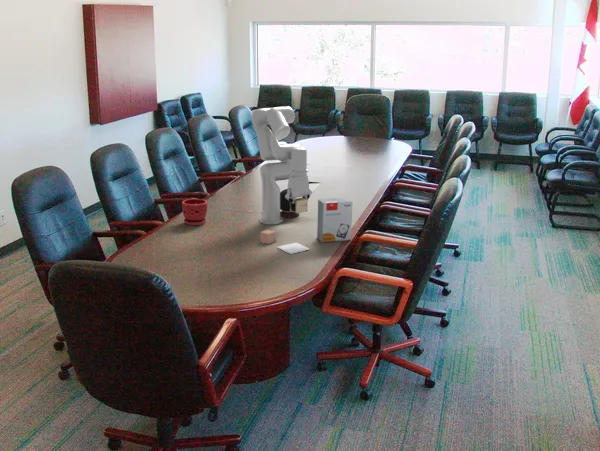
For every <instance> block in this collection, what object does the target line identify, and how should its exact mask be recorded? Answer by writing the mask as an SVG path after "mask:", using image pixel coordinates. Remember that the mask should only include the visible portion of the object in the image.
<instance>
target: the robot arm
mask: <svg viewBox="0 0 600 451" xmlns="http://www.w3.org/2000/svg"><path fill="white" fill-rule="evenodd" d="M295 118H296V114H295V112H294V109H293V108H292V107H291V106H276V107H275V106H274V107H262V108H257V109H255V110H253V112H252V114H251V123H252V126H253V129H254V132H255V133H256V138H257V142H258V143H257V144H258V150H259V154H260V159H262V160H263V161H265V162H268V163H265V164H263V165H261V167H260V169H259V173H260V179H261V190H262V191H261V193H262V194H261V196H262V197H261V198H262V201H261V202H262V208H261V210H262V211H260V215H262V217H260V218H259V223H261V224H264V225H278V224H281V223H283V222H284V218H282V217H280V212H281V209H280V192H281V189H280V186H279V185H278V183H277V182H279V181H287V182H288V183H287V189H288V191H287V194H286V195H285V198H286V199H287V200H288V201H289V202H290V209H291V211H295V199H296V197H302V198H305V199H308V200H309V198H311V196H312V194H313V191H312V190H311V189H310V183H309V176H308V174H307V173H309V169H307V164H308V161H307V156H308V154H307V153H308V151H307V148H306V147H305V146H304V147H303V146H302V145H301V144H298V143H293V144H292V143H291V144H288V143H287V142H285V141H282V140H283V139H285V138H287V137H288V136H289V135H290V132H291V127H290V125H289V124H293V123H294V122H295ZM267 125H269V126H270V127H269V126H267ZM270 128H271V129H270ZM270 161H278V162H270ZM289 196H291V197H289Z"/></svg>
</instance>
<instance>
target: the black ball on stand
mask: <svg viewBox="0 0 600 451" xmlns="http://www.w3.org/2000/svg"><path fill="white" fill-rule="evenodd" d="M287 191H288V188H285V189H283V190H282V191H281V190H280V217H282V218H283V219H296V218H299V217H300V213H298V214H297V213H295V212H292V211H290V202H289V201H288V200H287V199H286V198H285V195H286V194H287ZM289 197H291V196H289ZM296 198H297V197H296Z"/></svg>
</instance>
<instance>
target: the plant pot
mask: <svg viewBox="0 0 600 451" xmlns="http://www.w3.org/2000/svg"><path fill="white" fill-rule="evenodd" d="M181 208H182V209H181V211H182V214H183V218H184V219H183V222H184V223H185V224H186V225H189V226H200V225H203V224H205V223H206V221H207V219H206V216H207V213H208V201H207V200H206V199H201V198H190V199H185V200H182V202H181Z"/></svg>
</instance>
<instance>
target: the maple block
mask: <svg viewBox="0 0 600 451" xmlns="http://www.w3.org/2000/svg"><path fill="white" fill-rule="evenodd" d="M308 201H309V199H305V198H302V197H297V198H296V199H295V211H292V212H295V213H297V214H298V213H299V214H302V213H303V214H304V213H306V212H307V213H308V206H309V205H308ZM290 211H291V209H290Z"/></svg>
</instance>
